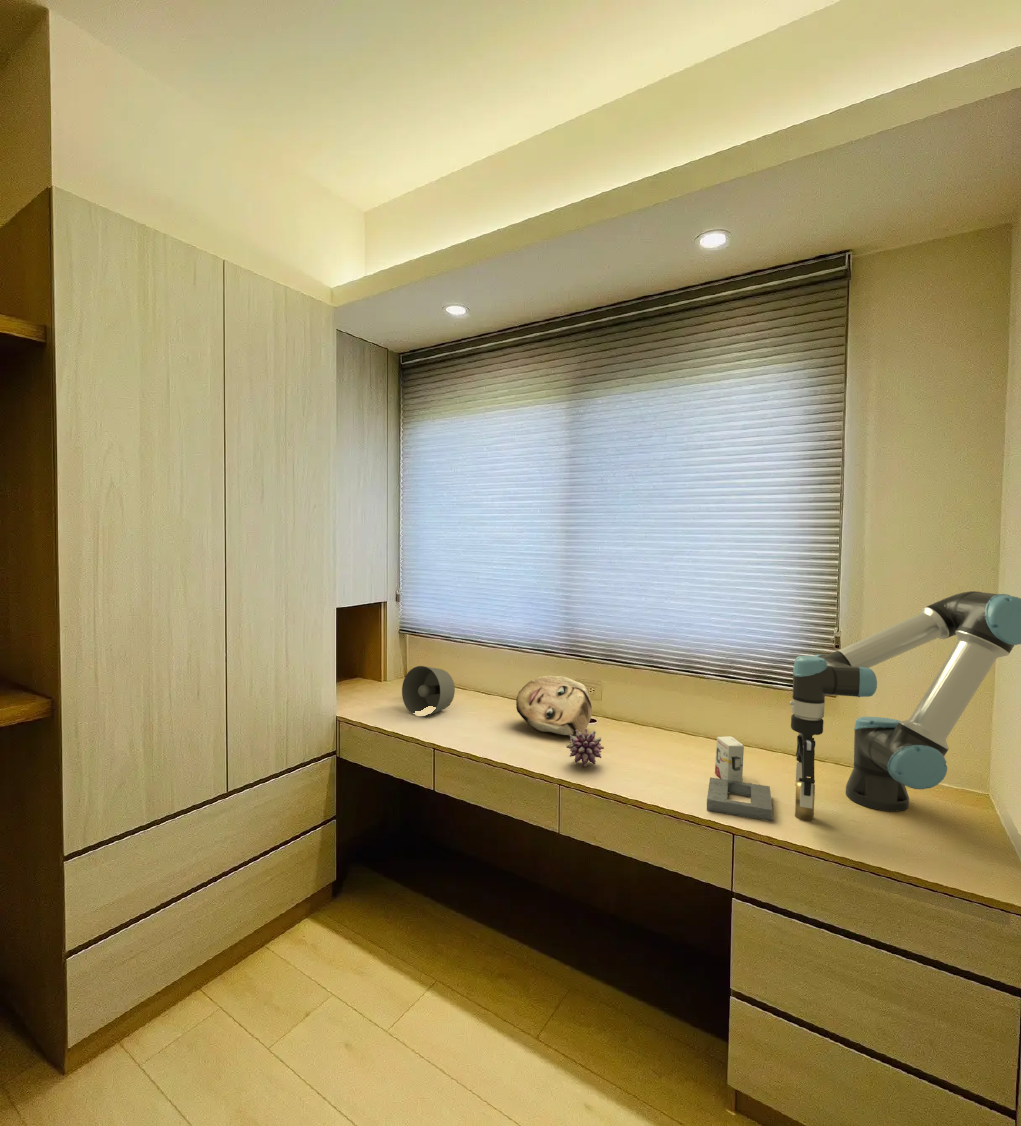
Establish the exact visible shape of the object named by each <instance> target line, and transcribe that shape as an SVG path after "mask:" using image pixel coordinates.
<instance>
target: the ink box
mask: <svg viewBox="0 0 1021 1126" xmlns="http://www.w3.org/2000/svg"><path fill="white" fill-rule="evenodd" d="M715 749H716V750H715V765H714V774H715V775H716V776H717V777H719V779H724V780H731V781H737V782H743V770H744V750H745V746H744V744H742V743H741V742H740V741H739V740H737V739H736V738H734V737H733V736H729V735H727V736H716V748H715Z"/></svg>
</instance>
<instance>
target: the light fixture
mask: <svg viewBox="0 0 1021 1126" xmlns="http://www.w3.org/2000/svg"><path fill="white" fill-rule="evenodd" d="M455 688H456V687H455V682H454V680H453V678H452V676H451V674H450V673H448V671H446V670H444V669H442V668H436V667H431V666H430V667H429V666H424V665H418V666H415V667H413V668H411V669H410V670H409V671H407V674H406V675H405V676H404V679H403V682H402V687H401V696H402V701H403V703H404V706H405V708H406V709H407V710H408V712H409V713H411V714H412V713H415V711H421V710H423V709H424V708H426V707H428V706H433V707H436V709H435V710H434V711H433V712H432V713H431V714H429V715H427V716H424V717H423V718H425V717H428V716H431V715H434V714H435V713H439V712H441V711H443V710H446V709H447V708H449V706H450V705H451V703H452V702H453V700H454V697H455V693H456V692H455Z"/></svg>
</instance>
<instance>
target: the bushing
mask: <svg viewBox="0 0 1021 1126" xmlns="http://www.w3.org/2000/svg"><path fill="white" fill-rule="evenodd" d="M795 782H796V786H795V805H794V806H795V807H794V817H795V818H796V819H798V820H801V821H804V822H813V821H815V797H816V796H815V793H816V792H815V791H816V790H815V789H816V784H815V783H814V784H813V801H812V809H811V808H806V807H800V792H801V782H800V781H799V780H797V781H796V780H795Z"/></svg>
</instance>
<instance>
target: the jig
mask: <svg viewBox="0 0 1021 1126" xmlns="http://www.w3.org/2000/svg"><path fill="white" fill-rule="evenodd" d="M708 783H709V784H708V788H707V789H708V791H707V797H706V811H708V812H713V813H714V812H715V813H720V814H727V815H733V816H737V817H744V818H749V819H754V820H761V821H767V822H773V805H772V804H773V803H772V796H771V795H772V794H771V787H770V786H769V785H764V784H763V785H762V784H756V783H750V782H743V781H742V782H737V781H731V780H724V779H721V778H717V777H716V778H715V777H709V782H708ZM728 794H730V795H731V794H732V795H737V796H743V797H750V799H749V800H750V803H749V802H745V801H738V800H731V799H728V798H729V795H728Z"/></svg>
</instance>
